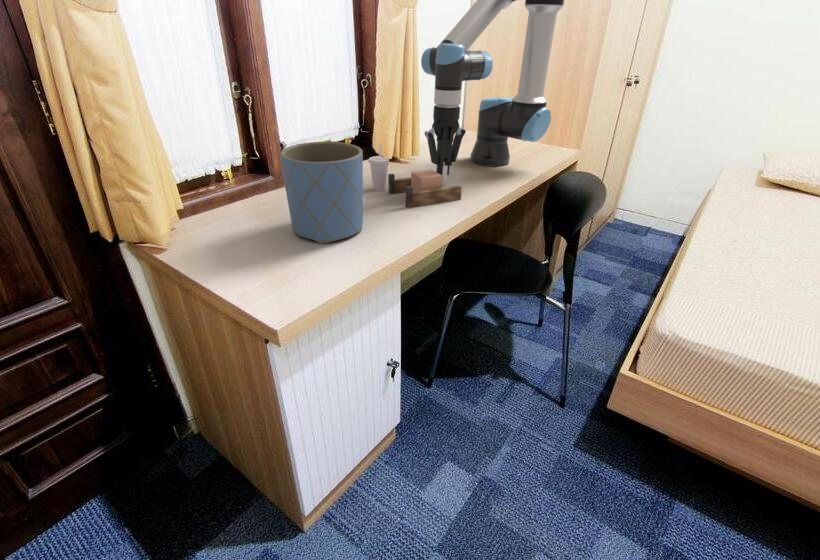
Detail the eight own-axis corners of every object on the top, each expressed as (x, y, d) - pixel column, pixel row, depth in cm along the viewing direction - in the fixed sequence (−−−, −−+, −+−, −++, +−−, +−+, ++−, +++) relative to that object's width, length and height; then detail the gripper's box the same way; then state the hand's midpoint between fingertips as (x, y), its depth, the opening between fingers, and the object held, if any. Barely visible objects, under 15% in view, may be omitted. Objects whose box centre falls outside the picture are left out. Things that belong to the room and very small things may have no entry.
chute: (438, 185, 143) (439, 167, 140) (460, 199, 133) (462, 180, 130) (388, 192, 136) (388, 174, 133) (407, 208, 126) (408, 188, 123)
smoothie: (386, 193, 136) (386, 147, 129) (367, 191, 137) (365, 146, 130) (391, 186, 142) (391, 142, 135) (372, 184, 143) (371, 141, 136)
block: (430, 190, 139) (431, 169, 135) (441, 197, 133) (442, 175, 130) (410, 193, 136) (411, 171, 133) (420, 201, 131) (421, 178, 127)
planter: (380, 230, 112) (379, 152, 102) (318, 253, 101) (309, 168, 90) (336, 209, 124) (331, 137, 113) (276, 228, 112) (264, 149, 102)
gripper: (459, 102, 129) (453, 179, 141) (420, 104, 124) (418, 184, 136) (473, 106, 123) (466, 186, 135) (433, 108, 118) (429, 192, 130)
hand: (442, 185), depth 136 cm, fingers closed
